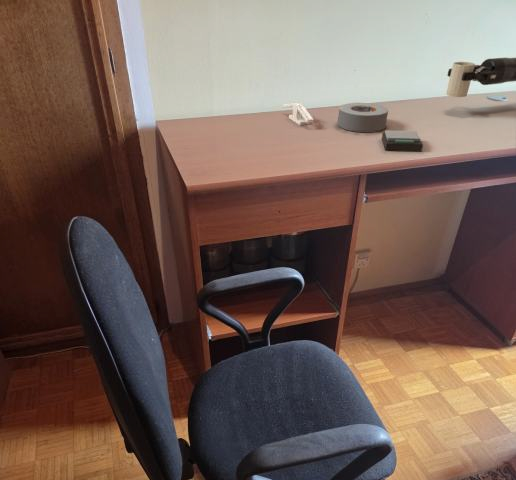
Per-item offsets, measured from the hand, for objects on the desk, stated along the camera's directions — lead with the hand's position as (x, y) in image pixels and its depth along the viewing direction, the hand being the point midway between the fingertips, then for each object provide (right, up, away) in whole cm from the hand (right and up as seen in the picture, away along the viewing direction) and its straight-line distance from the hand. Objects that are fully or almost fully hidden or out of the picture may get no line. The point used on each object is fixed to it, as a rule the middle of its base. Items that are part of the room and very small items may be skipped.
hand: (455, 74), depth 146 cm
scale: (-23, -30, -16) cm, 41 cm away
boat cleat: (-51, -13, +4) cm, 53 cm away
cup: (+2, -4, +4) cm, 6 cm away
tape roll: (-31, -17, -1) cm, 36 cm away
